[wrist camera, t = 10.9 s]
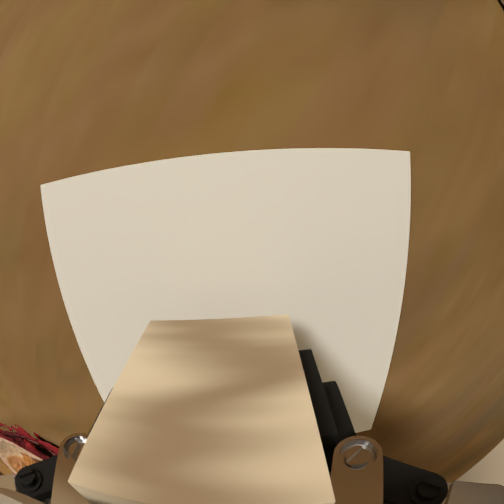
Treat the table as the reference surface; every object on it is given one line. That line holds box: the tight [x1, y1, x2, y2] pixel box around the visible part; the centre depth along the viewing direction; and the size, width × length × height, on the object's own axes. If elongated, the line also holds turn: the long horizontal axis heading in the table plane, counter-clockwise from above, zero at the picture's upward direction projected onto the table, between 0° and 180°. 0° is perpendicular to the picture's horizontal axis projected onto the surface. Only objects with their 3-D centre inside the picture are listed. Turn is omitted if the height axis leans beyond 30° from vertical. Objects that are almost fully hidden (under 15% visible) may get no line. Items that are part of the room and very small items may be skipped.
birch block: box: [68, 314, 335, 504], centre depth 7 cm, size 5×5×7 cm
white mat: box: [40, 148, 411, 433], centre depth 13 cm, size 16×16×1 cm
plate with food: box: [0, 423, 59, 476], centre depth 19 cm, size 25×26×4 cm
